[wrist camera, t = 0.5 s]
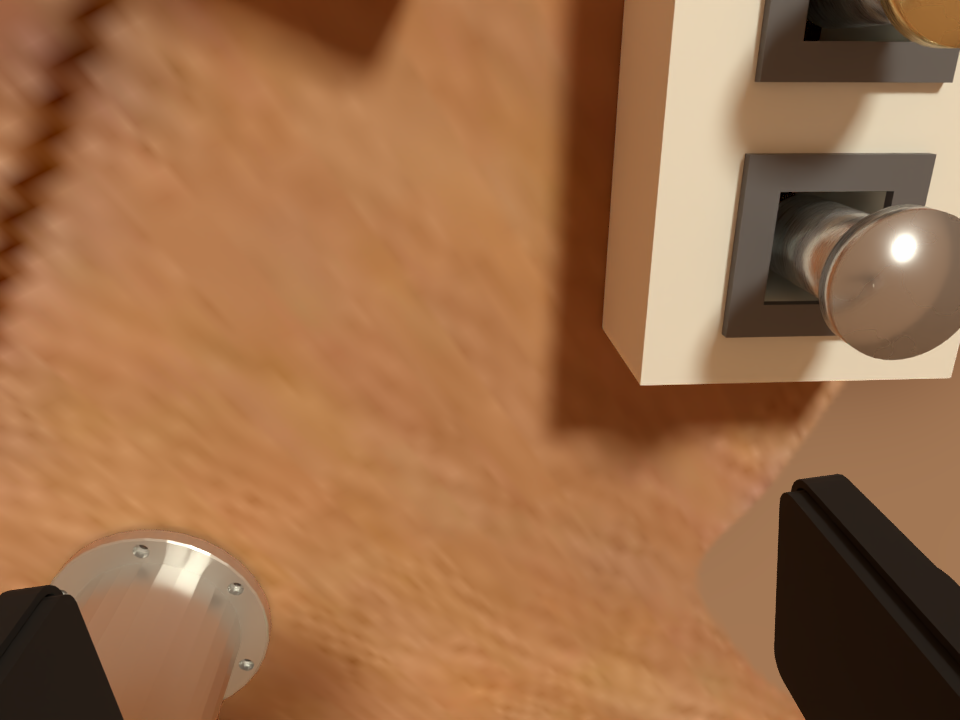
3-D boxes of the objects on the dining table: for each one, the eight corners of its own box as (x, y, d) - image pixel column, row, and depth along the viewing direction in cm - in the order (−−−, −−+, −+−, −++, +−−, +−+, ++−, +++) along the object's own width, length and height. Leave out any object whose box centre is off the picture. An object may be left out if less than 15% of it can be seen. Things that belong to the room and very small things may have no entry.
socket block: (859, 323, 40) (957, 382, 33) (602, 328, 39) (643, 390, 32) (958, -164, 32) (1118, -232, 25) (636, -173, 31) (702, -245, 24)
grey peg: (845, 293, 34) (964, 358, 26) (732, 294, 33) (820, 361, 26) (868, 174, 32) (1004, 209, 24) (748, 175, 31) (848, 210, 24)
